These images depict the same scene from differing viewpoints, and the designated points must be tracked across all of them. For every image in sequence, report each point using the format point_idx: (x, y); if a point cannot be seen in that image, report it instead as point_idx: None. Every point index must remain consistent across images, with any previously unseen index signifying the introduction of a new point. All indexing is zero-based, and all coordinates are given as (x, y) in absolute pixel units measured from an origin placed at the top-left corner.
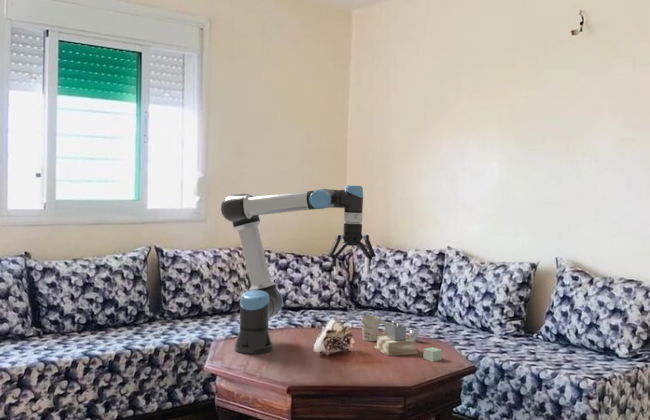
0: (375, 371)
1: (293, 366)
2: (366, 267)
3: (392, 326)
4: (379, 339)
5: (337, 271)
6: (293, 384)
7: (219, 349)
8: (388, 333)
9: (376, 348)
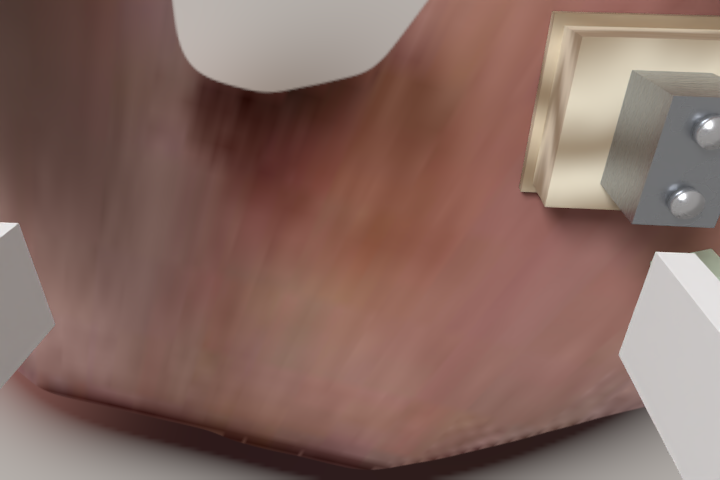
0: (353, 347)
1: (55, 221)
2: (690, 438)
3: (641, 183)
4: (569, 76)
5: (6, 369)
6: (53, 381)
7: None
8: (634, 105)
9: (546, 48)
